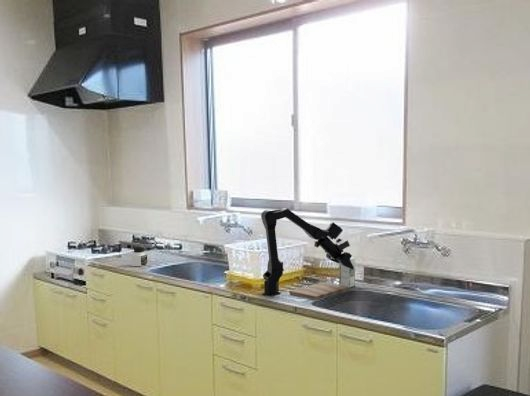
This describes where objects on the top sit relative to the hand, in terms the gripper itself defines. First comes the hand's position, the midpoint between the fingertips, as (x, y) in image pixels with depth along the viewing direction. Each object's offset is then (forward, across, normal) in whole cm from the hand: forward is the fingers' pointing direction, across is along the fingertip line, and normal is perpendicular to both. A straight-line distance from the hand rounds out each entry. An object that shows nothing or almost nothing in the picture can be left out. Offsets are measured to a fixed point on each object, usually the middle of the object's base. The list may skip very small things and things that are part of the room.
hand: (349, 267), depth 263 cm
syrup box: (+6, 0, +8) cm, 10 cm away
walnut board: (-7, -6, +20) cm, 22 cm away
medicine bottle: (-60, +98, +74) cm, 137 cm away
